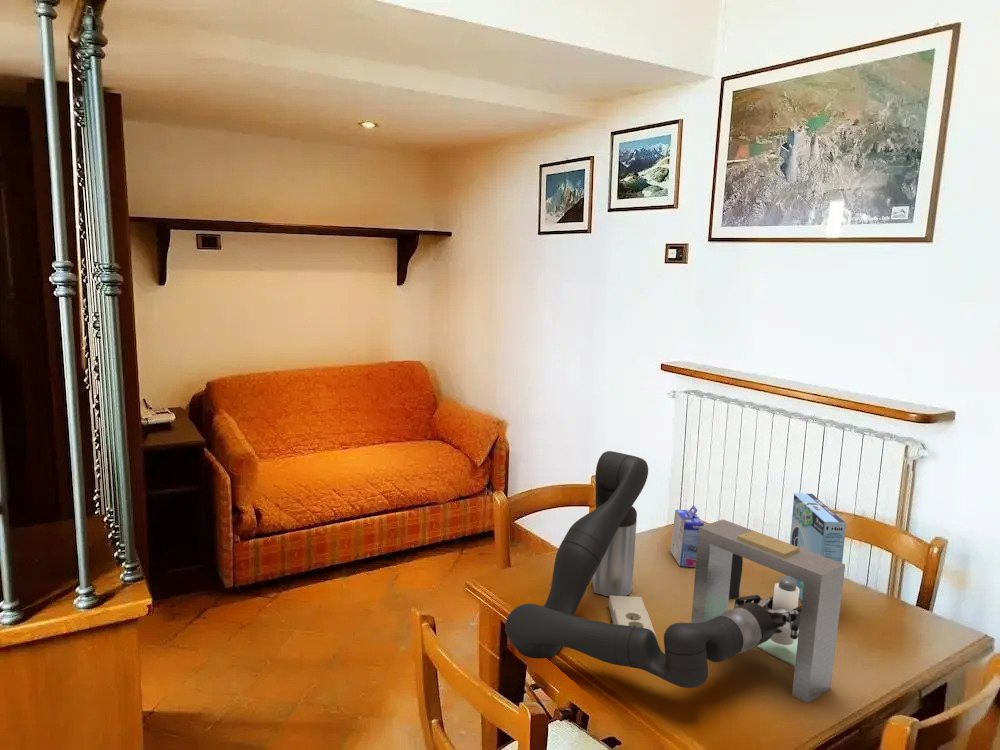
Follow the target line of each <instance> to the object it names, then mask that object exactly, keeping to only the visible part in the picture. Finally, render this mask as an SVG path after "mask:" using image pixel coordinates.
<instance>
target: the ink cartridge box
mask: <svg viewBox="0 0 1000 750" xmlns="http://www.w3.org/2000/svg"><path fill="white" fill-rule="evenodd" d="M674 510H675V511H674V518H673V528H672V535H671V544H670V545H671V546H670V553H671V554H672V556H673V557H674V559H675V561H676V562H677V564H678V566H679V567H686V568H696V556H697V544H698V531H699V527H701V526H704V525H705V523H704V522H703V521H702V519H701V518H700V516H699V515H698V514H697V512H698V508H696V506H695V505H692V506H691V507H690V509H674Z"/></svg>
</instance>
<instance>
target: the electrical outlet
mask: <svg viewBox="0 0 1000 750" xmlns="http://www.w3.org/2000/svg"><path fill="white" fill-rule="evenodd" d="M642 597H643V596H629V595H627V596H608V598H609V599H608V609H609V613H611V614H610V617H612V618H611V621H613V622H612V624H617V625H626V626H633V627H641V628H647V629H650V630H651V631H652V632H653V633H654V635H655V637H656V638H657V634H656V631H655V629H654V626H653V623H652V621H651V618H650V615H649V612H648V610H647V609H646V606H645V603H644V600H643V598H642Z"/></svg>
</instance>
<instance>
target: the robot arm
mask: <svg viewBox="0 0 1000 750" xmlns="http://www.w3.org/2000/svg"><path fill="white" fill-rule="evenodd" d="M648 475H649V465H648V463H647V460H645V459H643V458H642V457H638V456H636V455H632V454H626V453H622V452H618V451H611V450H607V451H605V452H603V453H602V454H601V455H600V457H599V458H598V460H597V463H596V468H595V480H594V481H595V482H594V483H595V486H594V487H595V488H594V489H595V500H594V504H595V509H593V510H591V511H590V512H589V513H587V514H585V515H584V516H582V517H580V518H579V519H577V520H576V521H575V522H574V523H573V524H572V525H571V526H570V527H569V529H568V530H567V532H566V534H565V536H564V538H563V539H562V541H561V543H560V545H559V546H558V549H557V551H556V554H555V559H554V565H553V570H552V577H551V578H552V579H551V584H550V585H551V586H550V589H549V593H548V597H547V599H546V600H545V603H544V605H539V604H535V603H523V604H520V605H518V606H516V607H514V609H512V610H511V611H510V613H508V615H507V617H506V620H505V625H504V629H505V634H506V636H507V639H508V640H509V642H510V643H511V644H512V646H513V647H514V648H515V649H516V650H517V652H519V654H521V655H523V656H524V657H527V658H531V659H549V658H552V657H555V656H556V655H557V654H558V653H559V652H560V650H561V648H562V647H565V648H569V649H572V650H574V651H577V652H579V653H581V654H584V655H586V656H589V657H591V658H593V659H596V660H598V661H601V662H605V663H607V664H610V665H615V666H620V667H626V668H632V669H639V670H642V671H645V672H647V673H648V674H652V675H654V676H656V677H658V678H660V679H662V680H664V681H666V682H667V683H670V684H672V685H675V686H677V687H680V688H685V689H694V688H699V687H700V686H702V685H704V683H706V682H707V681H708V677H709V667H708V666H709V665H708V661H710V662H712V663H720V662H724V661H726V660H728V659H730V658H732V657H734V656H736V655H738V654H742V653H745V652H748V651H750V650H752V649H753V648H757V647H756V646H758V645H760V644H762V643H764V642H766V641H768V640H769V639H770V638H771V637H772V635H773V634H775V633H781V632H782V631H783V632H786V633H789V634H790V638H792V639H797V638H798V634H799V625H800V616H801V607H802V604H801V605H798V607H797V608H795V609H793V610H790V611H787V610H785V609H781V610H773V609H772V606H773V597H774V595H773V596H770V597H764V598H762V597H761V596H760V595H759V594H752V595H746V596H739V598H734V607H733V608H731V609H728V611H726V612H724V613H723V614H721V615H720V616H718V617H716V618H714V619H711V620H709V621H707V622H700V623H691V622H675V623H673V624H670V625H669V626H668V627H667V628H666V630H665V631H664V634H663V644H664V645H663V646H664V652H663V651H662V649H661V647H660V645H659V643H658V640H657V636H656V637H655V635H654V633H653V632H652V631H651V630H650V629H647V628H641V627H633V626H626V625H617V624H613V623H609V622H604V621H603V622H602V621H597V620H594V619H593V620H592V619H589V618H584V617H580V616H576V611H577V609H578V607H579V605H580V603H581V601H582V599H583V597H584V595H585V593H586V591H587V589H588V587H589V586H590V583H592V588H593V593H594V594H600V595H602V596H605V597H609V596H629V595H630V594H631V593H632V592H633V585H634V583H633V582H634V581H633V580H634V566H635V564H634V563H635V553H636V550H635V549H636V548H635V547H636V534H637V519H638V518H637V517H638V512H637V510H636V508H635V507H634V506H633V505H634V504H635V502H636V501H637V499H638V497H639V496H640V494H641V493H642V491H643V489H644V487H645V485H646V482H647V479H648V477H649V476H648ZM790 616H791V620H789V617H790Z"/></svg>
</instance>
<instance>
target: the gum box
mask: <svg viewBox="0 0 1000 750" xmlns="http://www.w3.org/2000/svg"><path fill="white" fill-rule="evenodd" d="M846 527H847V522H846V521H844V520H843V519H842V518H841V517H839V515H837V514H836V513H835V512H834V511H833V510H831V509H830V508H829V507H828V506H827V505H825V503H823V502H822V501H821V500H820V499H819V498H818V497H817V496H815V495H814V494H813V493H805V492H803V493H802V492H799V493H798V492H796V493H795V492H794V493H793V503H792V515H791V528H790V538H789V544H791V545H794V546H797V547H799V548H802V549H805V550H808V551H810V552H813V553H816V554H818V555H821V556H824V557H826V558H829V559H832V560H835V561H837V562H840V563H843V559H844V558H843V557H844V551H845V550H844V549H845V537H846V529H847V528H846ZM786 577H789V578H792V579H794V580H796V582H797V583H796V586H797V587H798V588H799V589H800V591H799V600H800V601H801V602H802V597H803V588H804V582H802V581H800V580H797V579H795V578H793V577H790V576H788V575H786Z"/></svg>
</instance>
